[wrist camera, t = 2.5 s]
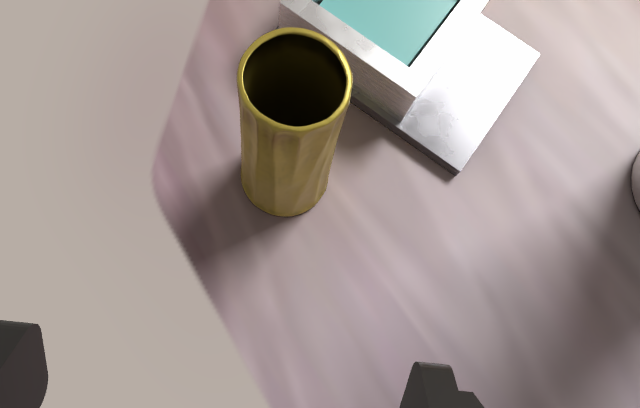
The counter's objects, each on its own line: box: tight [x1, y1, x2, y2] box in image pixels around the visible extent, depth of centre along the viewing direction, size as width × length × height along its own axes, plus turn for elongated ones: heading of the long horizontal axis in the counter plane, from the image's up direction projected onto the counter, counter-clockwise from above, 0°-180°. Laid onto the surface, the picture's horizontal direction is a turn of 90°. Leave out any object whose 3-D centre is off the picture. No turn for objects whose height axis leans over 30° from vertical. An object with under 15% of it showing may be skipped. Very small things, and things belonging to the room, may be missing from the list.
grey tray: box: [275, 0, 540, 176], centre depth 38 cm, size 17×12×5 cm
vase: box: [237, 27, 353, 217], centre depth 31 cm, size 6×6×14 cm
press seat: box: [320, 0, 458, 67], centre depth 38 cm, size 7×7×1 cm
